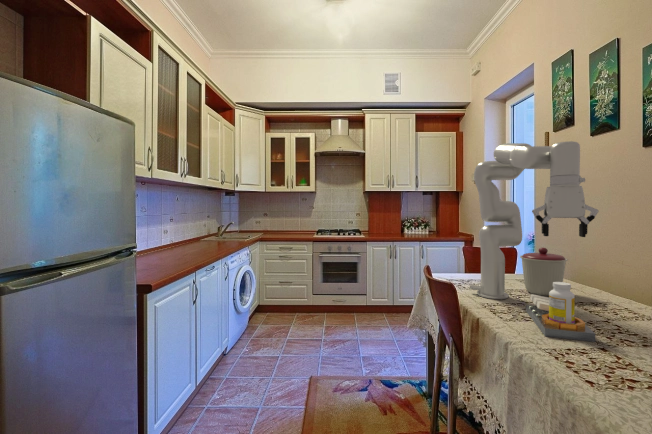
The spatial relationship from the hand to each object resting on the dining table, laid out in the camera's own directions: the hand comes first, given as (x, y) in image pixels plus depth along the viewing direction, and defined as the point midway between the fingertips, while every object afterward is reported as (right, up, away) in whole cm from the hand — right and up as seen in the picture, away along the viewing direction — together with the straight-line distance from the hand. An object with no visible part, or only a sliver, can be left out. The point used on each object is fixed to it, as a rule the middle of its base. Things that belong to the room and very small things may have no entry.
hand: (563, 236), depth 103 cm
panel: (+2, -30, +7) cm, 31 cm away
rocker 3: (+3, -25, +8) cm, 27 cm away
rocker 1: (+6, -25, +18) cm, 31 cm away
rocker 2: (+5, -25, +13) cm, 28 cm away
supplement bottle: (0, -28, +1) cm, 28 cm away
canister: (+24, -29, +47) cm, 60 cm away
